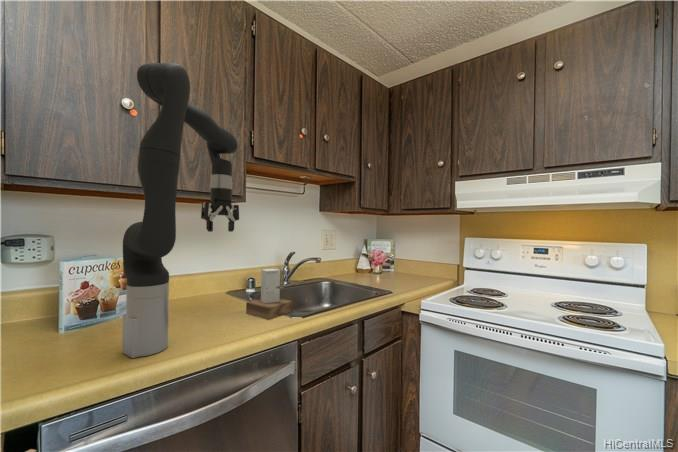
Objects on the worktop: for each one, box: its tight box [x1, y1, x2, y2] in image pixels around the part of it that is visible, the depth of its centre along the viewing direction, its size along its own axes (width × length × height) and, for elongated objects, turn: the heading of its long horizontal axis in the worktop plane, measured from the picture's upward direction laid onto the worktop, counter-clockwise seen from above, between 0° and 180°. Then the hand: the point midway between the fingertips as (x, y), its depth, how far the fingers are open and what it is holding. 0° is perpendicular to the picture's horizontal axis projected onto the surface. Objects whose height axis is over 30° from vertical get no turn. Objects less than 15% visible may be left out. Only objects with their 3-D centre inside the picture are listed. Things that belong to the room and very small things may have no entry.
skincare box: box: [260, 268, 281, 304], centre depth 109 cm, size 6×4×12 cm
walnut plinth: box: [245, 297, 294, 320], centre depth 109 cm, size 12×12×4 cm
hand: (220, 231), depth 108 cm, fingers open, 8 cm apart
